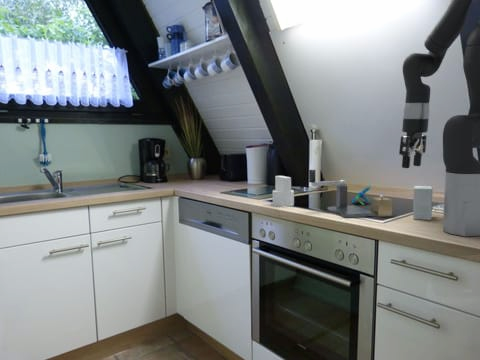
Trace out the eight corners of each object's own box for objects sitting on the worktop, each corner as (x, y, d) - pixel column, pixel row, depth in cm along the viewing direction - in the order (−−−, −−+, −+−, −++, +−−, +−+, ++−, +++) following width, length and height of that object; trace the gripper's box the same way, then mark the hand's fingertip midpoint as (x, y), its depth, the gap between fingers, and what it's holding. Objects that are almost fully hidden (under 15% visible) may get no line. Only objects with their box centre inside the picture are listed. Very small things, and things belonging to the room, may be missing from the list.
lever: (343, 184, 139) (344, 168, 139) (347, 185, 136) (347, 168, 136) (307, 185, 137) (307, 169, 136) (310, 186, 134) (310, 170, 133)
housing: (391, 216, 125) (392, 196, 124) (378, 217, 124) (378, 196, 124) (383, 213, 130) (384, 194, 129) (371, 214, 129) (371, 194, 129)
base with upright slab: (269, 203, 154) (268, 176, 153) (287, 202, 157) (287, 175, 156) (278, 207, 146) (278, 178, 144) (297, 205, 149) (297, 177, 148)
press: (374, 216, 125) (374, 190, 124) (344, 218, 124) (345, 191, 123) (353, 207, 141) (353, 184, 140) (326, 209, 139) (326, 185, 138)
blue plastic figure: (356, 196, 157) (371, 182, 151) (366, 206, 156) (382, 192, 149) (345, 203, 150) (361, 188, 143) (355, 214, 148) (371, 199, 141)
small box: (431, 220, 117) (432, 189, 116) (412, 219, 120) (413, 188, 119) (430, 215, 124) (432, 185, 123) (413, 214, 127) (414, 185, 126)
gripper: (418, 117, 108) (413, 170, 111) (436, 117, 118) (431, 166, 120) (394, 117, 114) (390, 167, 117) (413, 117, 123) (409, 164, 126)
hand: (411, 166), depth 119 cm, fingers open, 8 cm apart
